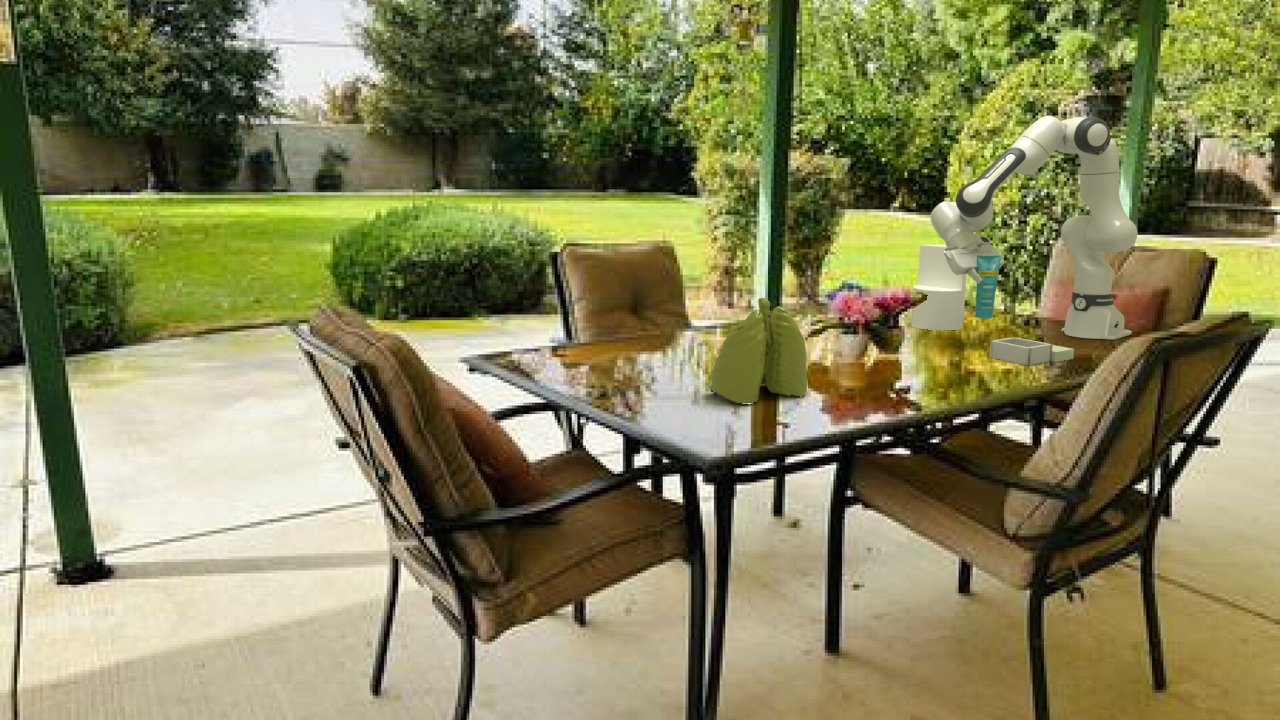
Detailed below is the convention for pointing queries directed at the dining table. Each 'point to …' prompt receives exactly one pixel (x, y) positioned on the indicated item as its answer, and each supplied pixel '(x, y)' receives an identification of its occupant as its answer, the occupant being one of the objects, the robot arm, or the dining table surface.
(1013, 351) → the grey open tray
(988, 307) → the tube
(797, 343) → the lungs
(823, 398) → the dining table surface
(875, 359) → the dining table surface
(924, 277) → the white chair
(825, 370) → the dining table surface
